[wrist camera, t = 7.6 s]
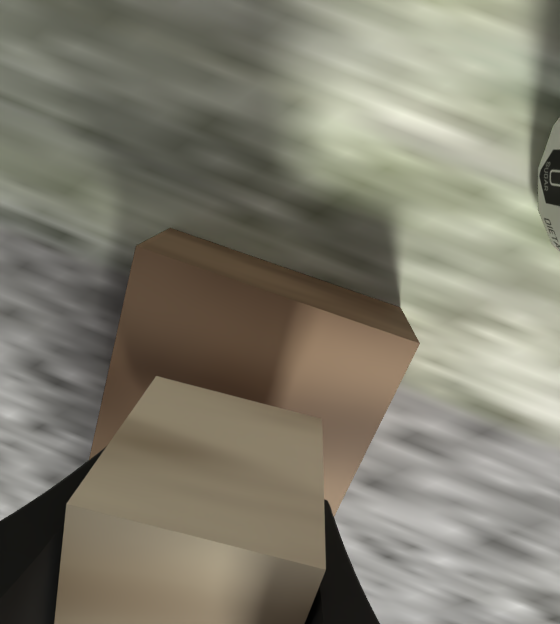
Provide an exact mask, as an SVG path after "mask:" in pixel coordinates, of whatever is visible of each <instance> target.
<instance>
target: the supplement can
mask: <svg viewBox="0 0 560 624" xmlns="http://www.w3.org/2000/svg"><path fill="white" fill-rule="evenodd" d="M538 211H539V214H540V216H541V219H542V221H543V223H544V226H545V228H546V231H547V233H548V236H549V238H550V240H551V243H552V245H553V246H554V247H555V248H556V249H557V250H559V251H560V117H559V118H558V120H557V121H556V122H555V124H554V125H553V128H552V131H551V133H550V136H549V139H548V142H547V145H546V148H545V151H544V154H543V156H542V159H541V162H540V165H539V168H538Z"/></svg>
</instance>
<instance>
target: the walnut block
mask: <svg viewBox="0 0 560 624" xmlns="http://www.w3.org/2000/svg"><path fill="white" fill-rule="evenodd" d="M419 344H420V343H419V341H418V339H417V337H416V335H415V334H414V332H413V330H412V328H411V326H410V324H409V322H408V321H407V319H406V317H405V315H404V313H403V311H402V309H401V308H400V307H397V306H395V305H392V304H389V303H386V302H383V301H380V300H377V299H374V298H371V297H369V296H366V295H363V294H360V293H357V292H354V291H351V290H348V289H345V288H343V287H340V286H337V285H334V284H331V283H328V282H325V281H322V280H319V279H317V278H314V277H311V276H308V275H305V274H302V273H299V272H296V271H293V270H291V269H288V268H285V267H282V266H279V265H276V264H273V263H270V262H267V261H265V260H262V259H259V258H256V257H253V256H250V255H247V254H244V253H241V252H239V251H236V250H233V249H230V248H227V247H224V246H221V245H218V244H215V243H213V242H210V241H207V240H204V239H201V238H198V237H195V236H192V235H189V234H187V233H184V232H181V231H178V230H175V229H172V228H169V229H167V230H165V231H163V232H161V233H159V234H157V235H156V236H154V237H152V238H150V239H148V240H146V241H144V242H142V243H140V244H139V245H137V246H136V248H135V252H134V257H133V262H132V266H131V271H130V275H129V280H128V284H127V289H126V293H125V298H124V303H123V307H122V312H121V316H120V321H119V325H118V330H117V334H116V339H115V344H114V348H113V353H112V357H111V362H110V366H109V371H108V375H107V380H106V385H105V389H104V394H103V398H102V403H101V407H100V412H99V416H98V421H97V426H96V430H95V435H94V439H93V444H92V448H91V453H90V457H89V460H90V459H91V458H92V457H94V456H95V455H96V454H97V453H99V452H100V451H101V450H102V449H104V448H105V447H106V446H107V445H108V444H109V443H110V441H111V440H112V438H113V437H114V435H115V434H116V433H117V431H118V430H119V428H120V427H121V425H122V424H123V423H124V421H125V420H126V418H127V417H128V415H129V414H130V413H131V411H132V410H133V408H134V407H135V406H136V404H137V403H138V401H139V400H140V398H141V397H142V396H143V394H144V393H145V391H146V390H147V388H148V387H149V386H150V384H151V383H152V381H153V380H154V378H155V377H156V376H158V377H162V378H166V379H170V380H174V381H178V382H181V383H185V384H189V385H193V386H197V387H201V388H204V389H208V390H212V391H216V392H220V393H224V394H228V395H231V396H235V397H239V398H243V399H247V400H251V401H255V402H258V403H262V404H266V405H270V406H274V407H278V408H282V409H285V410H289V411H293V412H297V413H301V414H305V415H309V416H312V417H316V418H320V419H322V434H323V474H324V499H325V500H327V501H328V502H329V504H330V507H331V510H332V513H333V516H335V514H336V512H337V510H338V508H339V505H340V503H341V501H342V499H343V497H344V495H345V493H346V491H347V489H348V487H349V485H350V483H351V481H352V479H353V477H354V475H355V473H356V471H357V469H358V467H359V465H360V463H361V461H362V459H363V457H364V455H365V453H366V451H367V449H368V447H369V445H370V443H371V441H372V439H373V437H374V435H375V433H376V431H377V429H378V427H379V425H380V423H381V421H382V419H383V417H384V415H385V413H386V411H387V409H388V407H389V405H390V403H391V401H392V399H393V397H394V394H395V392H396V390H397V388H398V386H399V384H400V382H401V380H402V378H403V376H404V374H405V372H406V370H407V368H408V366H409V364H410V362H411V360H412V358H413V356H414V354H415V352H416V350H417V348H418V346H419Z"/></svg>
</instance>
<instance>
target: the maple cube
mask: <svg viewBox="0 0 560 624" xmlns="http://www.w3.org/2000/svg"><path fill="white" fill-rule="evenodd" d="M325 571H326V553H325V514H324V474H323V434H322V419H320V418H316V417H312V416H309V415H305V414H301V413H297V412H293V411H289V410H285V409H282V408H278V407H274V406H270V405H266V404H262V403H258V402H255V401H251V400H247V399H243V398H239V397H235V396H231V395H228V394H224V393H220V392H216V391H212V390H208V389H204V388H201V387H197V386H193V385H189V384H185V383H181V382H178V381H174V380H170V379H166V378H162V377H158V376H156V377H155V378H154V380H153V381H152V383H151V384H150V386H149V387H148V388H147V390H146V391H145V393H144V394H143V396H142V397H141V398H140V400H139V401H138V403H137V404H136V406H135V407H134V408H133V410H132V411H131V413H130V414H129V415H128V417H127V418H126V420H125V421H124V423H123V424H122V425H121V427H120V428H119V430H118V431H117V433H116V434H115V435H114V437H113V438H112V440H111V441H110V443H109V444H108V445H107V447H106V448H105V450H104V451H103V452H102V454H101V455H100V457H99V458H98V460H97V461H96V462H95V464H94V465H93V467H92V468H91V470H90V471H89V472H88V474H87V475H86V477H85V478H84V480H83V481H82V482H81V484H80V485H79V487H78V488H77V489H76V491H75V492H74V494H73V495H72V497H71V498H70V499H69V501H68V502H67V504H66V513H65V522H64V532H63V542H62V552H61V562H60V572H59V581H58V591H57V601H56V611H55V621H54V624H305V621H306V619H307V616H308V614H309V611H310V608H311V606H312V603H313V601H314V598H315V596H316V593H317V591H318V588H319V586H320V583H321V581H322V578H323V576H324V573H325Z"/></svg>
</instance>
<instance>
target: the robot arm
mask: <svg viewBox="0 0 560 624" xmlns="http://www.w3.org/2000/svg"><path fill="white" fill-rule="evenodd" d="M106 447H107V446H106ZM106 447H105V448H106ZM105 448H104V449H102V450H101V451H100V452H99V453H97V454H96V455H95V456H94V457H92V458H91V459H90V460H89V461H87V462H86V463H85V464H83V465H82V466H81V467H80V468H78V469H77V470H76V471H74V472H73V473H72V474H70V475H69V476H67V477H66V478H65V479H63V480H62V481H60V482H59V483H58V484H56V485H55V486H53V487H52V488H51V489H49V490H48V491H46V492H45V493H44V494H42V495H41V496H39V497H37V498H36V499H34V500H33V501H31V502H30V503H28V504H27V505H25V506H24V507H22V508H20V509H19V510H17V511H16V512H14V513H13V514H11V515H9V516H8V517H6V518H4V519H3V520H1V521H0V624H54V621H55V611H56V601H57V591H58V581H59V572H60V562H61V552H62V542H63V532H64V522H65V513H66V504H67V502H68V501H69V499H70V498H71V497H72V495H73V494H74V492H75V491H76V489H77V488H78V487H79V485H80V484H81V482H82V481H83V480H84V478H85V477H86V475H87V474H88V472H89V471H90V470H91V468H92V467H93V465H94V464H95V462H96V461H97V460H98V458H99V457H100V455H101V454H102V452H103V451H104V450H105ZM324 514H325V553H326V571H325V573H324V576H323V578H322V581H321V583H320V586H319V588H318V591H317V593H316V596H315V598H314V601H313V603H312V606H311V608H310V611H309V614H308V616H307V619H306V621H305V624H380V623H379V621H378V619H377V618H376V616H375V614H374V612H373V610H372V608H371V606H370V604H369V602H368V600H367V598H366V595H365V593H364V591H363V589H362V587H361V585H360V583H359V580H358V578H357V576H356V574H355V571H354V569H353V567H352V564H351V562H350V559H349V557H348V555H347V552H346V550H345V547H344V544H343V542H342V539H341V536H340V534H339V531H338V528H337V525H336V522H335V519H334V516H333V513H332V510H331V507H330V504H329V502H328V501H327V500H325V499H324Z"/></svg>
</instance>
